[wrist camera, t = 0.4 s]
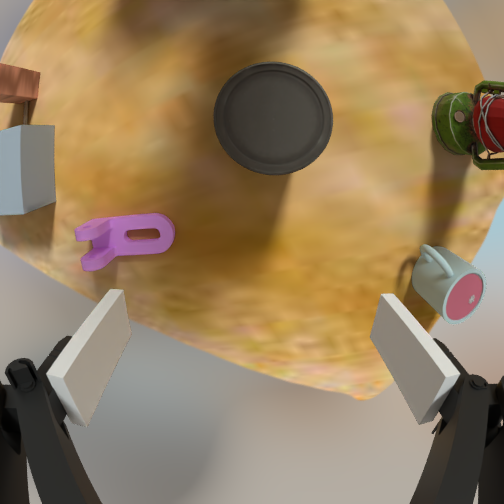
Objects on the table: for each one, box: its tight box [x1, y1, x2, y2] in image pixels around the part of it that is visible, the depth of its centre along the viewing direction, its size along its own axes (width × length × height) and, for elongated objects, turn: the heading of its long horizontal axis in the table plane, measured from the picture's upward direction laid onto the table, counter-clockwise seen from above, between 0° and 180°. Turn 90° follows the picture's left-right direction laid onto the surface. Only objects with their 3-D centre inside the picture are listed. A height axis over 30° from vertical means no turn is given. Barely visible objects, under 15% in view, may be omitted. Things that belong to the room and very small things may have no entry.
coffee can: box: [214, 62, 333, 175], centre depth 30 cm, size 10×10×14 cm
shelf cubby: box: [0, 125, 56, 215], centre depth 32 cm, size 12×13×8 cm
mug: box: [412, 244, 486, 324], centre depth 39 cm, size 14×9×10 cm
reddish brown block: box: [0, 63, 40, 125], centre depth 28 cm, size 19×5×12 cm, turn 177°
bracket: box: [75, 213, 175, 271], centre depth 38 cm, size 13×6×7 cm, turn 93°
